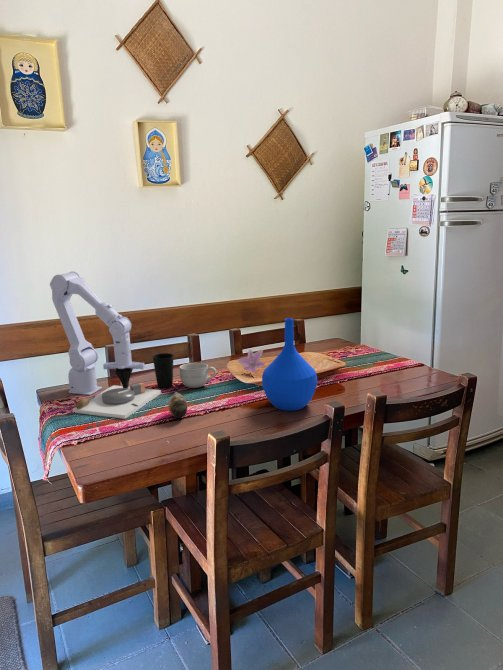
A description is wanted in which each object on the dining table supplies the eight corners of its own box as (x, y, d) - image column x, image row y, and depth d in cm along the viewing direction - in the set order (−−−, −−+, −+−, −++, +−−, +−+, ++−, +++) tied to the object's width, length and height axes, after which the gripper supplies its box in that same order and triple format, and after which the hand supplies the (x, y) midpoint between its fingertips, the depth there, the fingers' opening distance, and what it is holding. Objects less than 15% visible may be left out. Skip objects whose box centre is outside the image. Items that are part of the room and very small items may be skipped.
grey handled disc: (111, 406, 173) (110, 398, 172) (96, 398, 181) (95, 389, 180) (151, 395, 183) (151, 386, 182) (136, 387, 191) (135, 379, 190)
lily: (236, 372, 214) (230, 356, 207) (260, 358, 216) (255, 341, 210) (250, 388, 205) (245, 372, 199) (275, 373, 208) (270, 357, 201)
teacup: (175, 388, 193) (173, 368, 191) (189, 379, 203) (188, 359, 201) (208, 392, 188) (207, 371, 186) (221, 383, 198) (220, 363, 196)
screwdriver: (81, 409, 172) (81, 402, 172) (75, 408, 173) (74, 401, 172) (97, 399, 180) (97, 393, 180) (92, 399, 181) (91, 392, 181)
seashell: (166, 413, 170) (164, 390, 168) (182, 410, 172) (181, 387, 170) (173, 424, 162) (172, 400, 160) (191, 420, 164) (190, 397, 162)
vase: (253, 401, 179) (251, 316, 172) (300, 392, 186) (300, 311, 179) (277, 420, 163) (275, 328, 155) (327, 410, 170) (328, 321, 162)
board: (73, 412, 173) (72, 408, 173) (113, 388, 195) (113, 384, 195) (125, 418, 167) (124, 414, 166) (160, 393, 189) (160, 389, 188)
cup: (171, 390, 191) (169, 359, 188) (151, 389, 193) (149, 358, 190) (178, 383, 199) (176, 353, 196) (159, 382, 200) (157, 352, 197)
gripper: (98, 354, 181) (102, 391, 185) (139, 354, 180) (142, 391, 184) (105, 349, 188) (109, 384, 192) (144, 349, 187) (147, 384, 190)
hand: (125, 387), depth 188 cm, fingers closed
